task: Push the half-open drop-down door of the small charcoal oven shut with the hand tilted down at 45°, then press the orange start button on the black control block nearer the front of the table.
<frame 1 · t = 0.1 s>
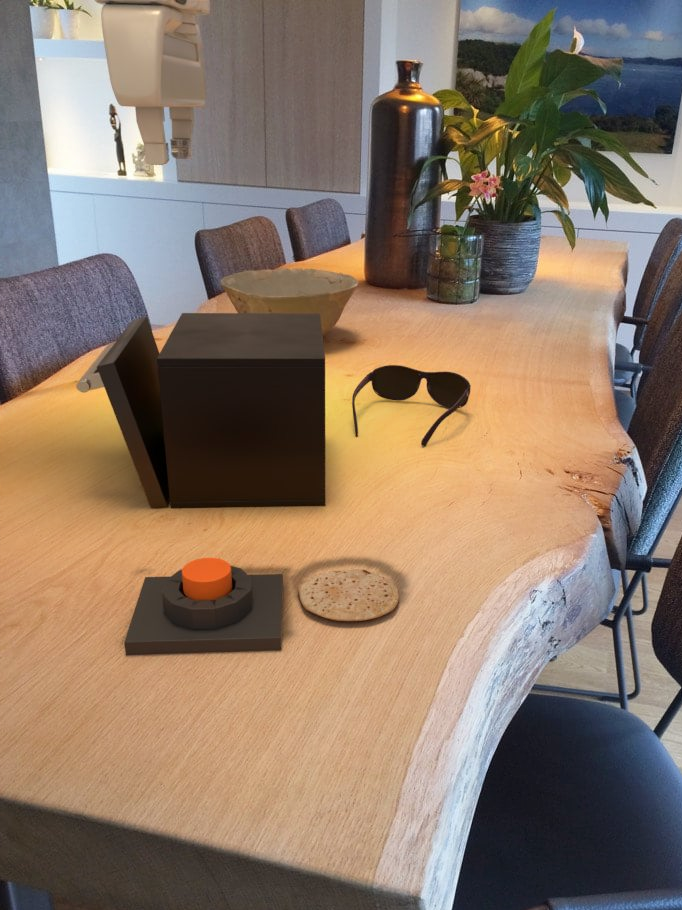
hand: (170, 161, 78), 31 cm above the table, tool pointing down, fingers open, 8 cm apart
flatbread: (347, 602, 66), on the table
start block: (210, 618, 63), on the table
sunglasses: (408, 423, 104), on the table
mini oven: (253, 471, 89), on the table
start button: (207, 579, 62), point 3 cm above the table, slide at 0.1 cm
oven door: (134, 411, 85), point 7 cm above the table, hinge at 13.8°
ceramic bowl: (291, 341, 139), on the table
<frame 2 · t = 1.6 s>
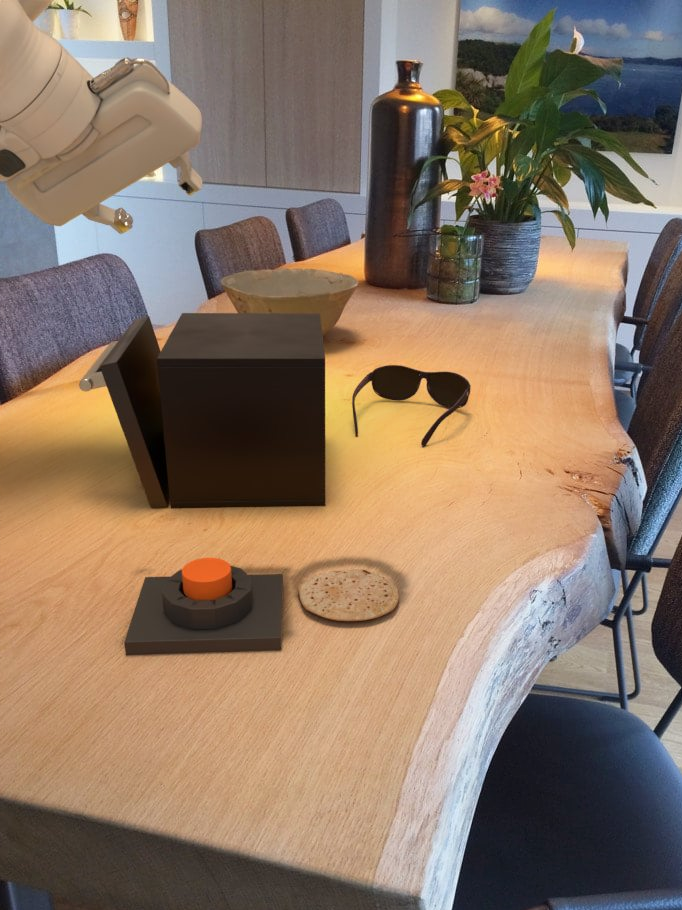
hand: (161, 208, 85), 26 cm above the table, tool tilted 50°, fingers open, 8 cm apart
oven door: (135, 410, 85), point 7 cm above the table, hinge at 12.8°
everything else where it was.
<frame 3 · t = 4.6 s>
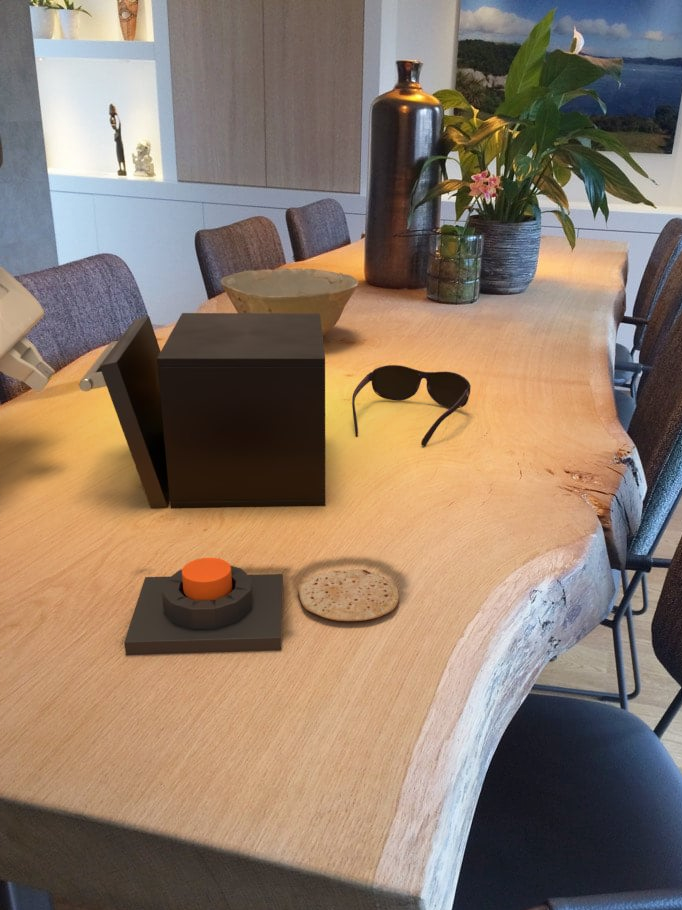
hand: (47, 382, 84), 10 cm above the table, tool tilted 45°, fingers closed
nothing on the table moved.
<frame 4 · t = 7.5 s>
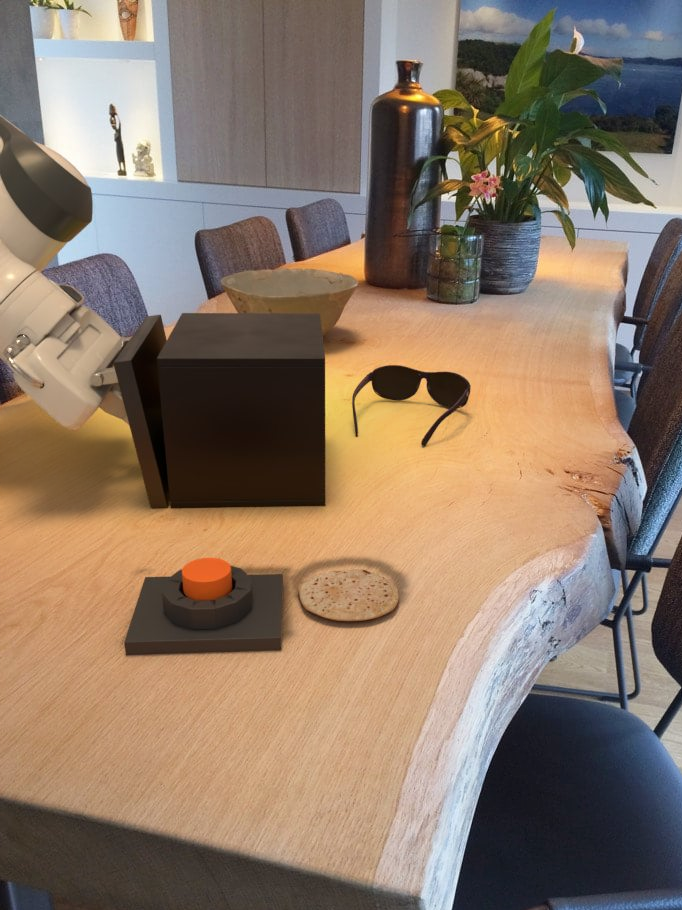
hand: (143, 420, 86), 6 cm above the table, tool tilted 45°, fingers closed, pressing on oven door
oven door: (141, 408, 85), point 7 cm above the table, hinge at 7.8°, touching gripper
everything else where it was.
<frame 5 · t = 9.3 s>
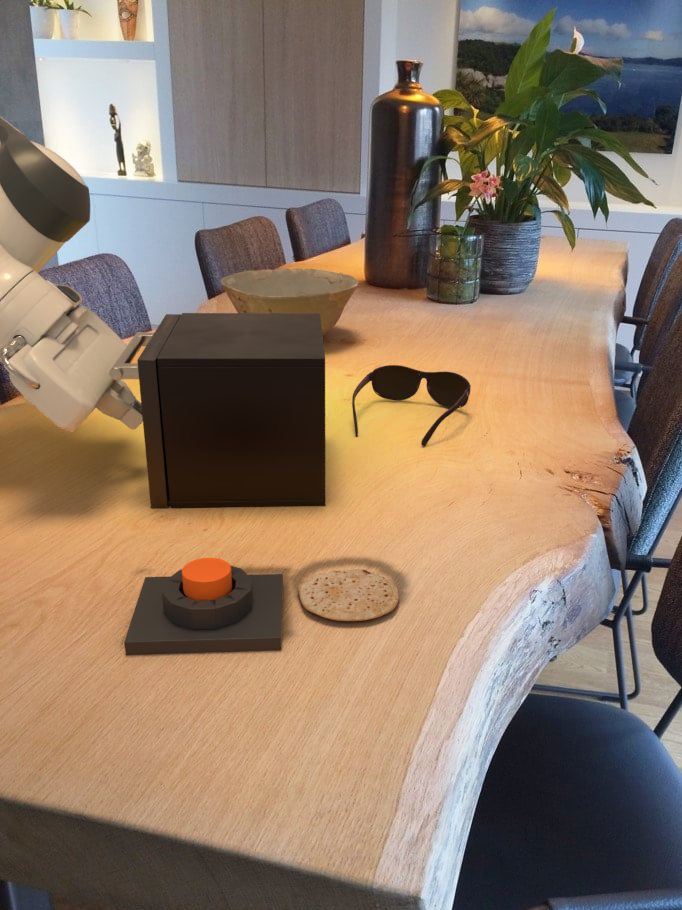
hand: (141, 420, 85), 6 cm above the table, tool tilted 45°, fingers closed
oven door: (151, 405, 85), point 8 cm above the table, hinge at -0.5°
everything else where it was.
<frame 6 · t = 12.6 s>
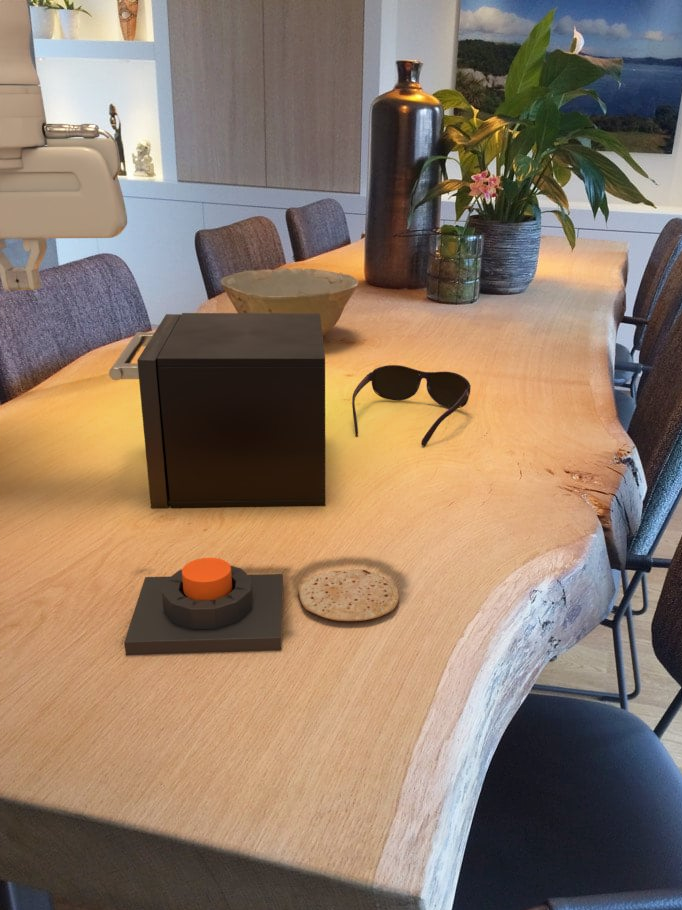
hand: (22, 288, 76), 20 cm above the table, tool pointing down, fingers closed
nothing on the table moved.
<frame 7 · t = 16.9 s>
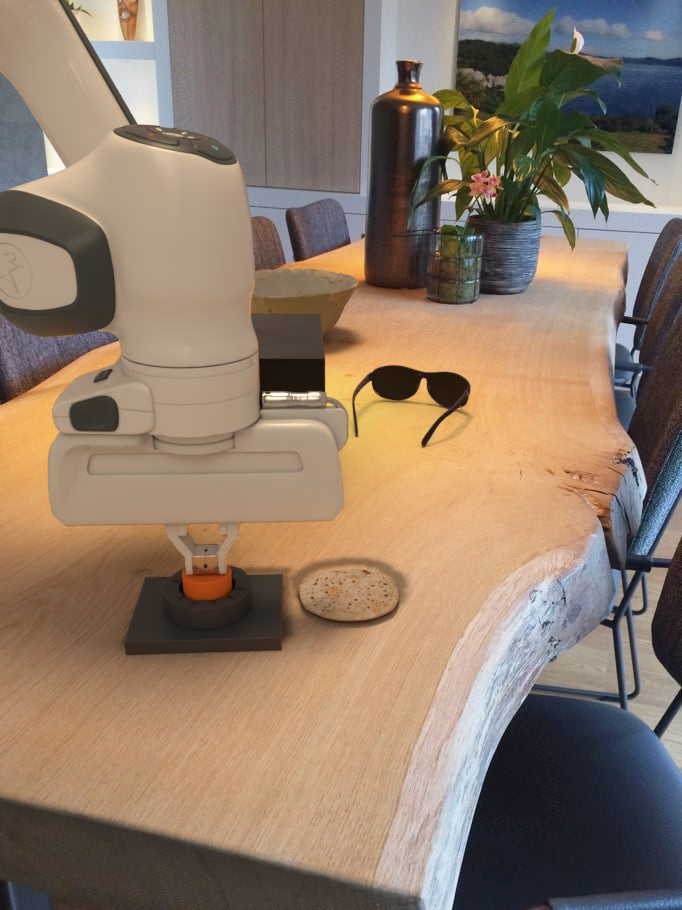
hand: (207, 571, 61), 4 cm above the table, tool pointing down, fingers closed, pressing on start button
start button: (207, 580, 62), point 3 cm above the table, slide at 0.0 cm, touching gripper
everything else where it was.
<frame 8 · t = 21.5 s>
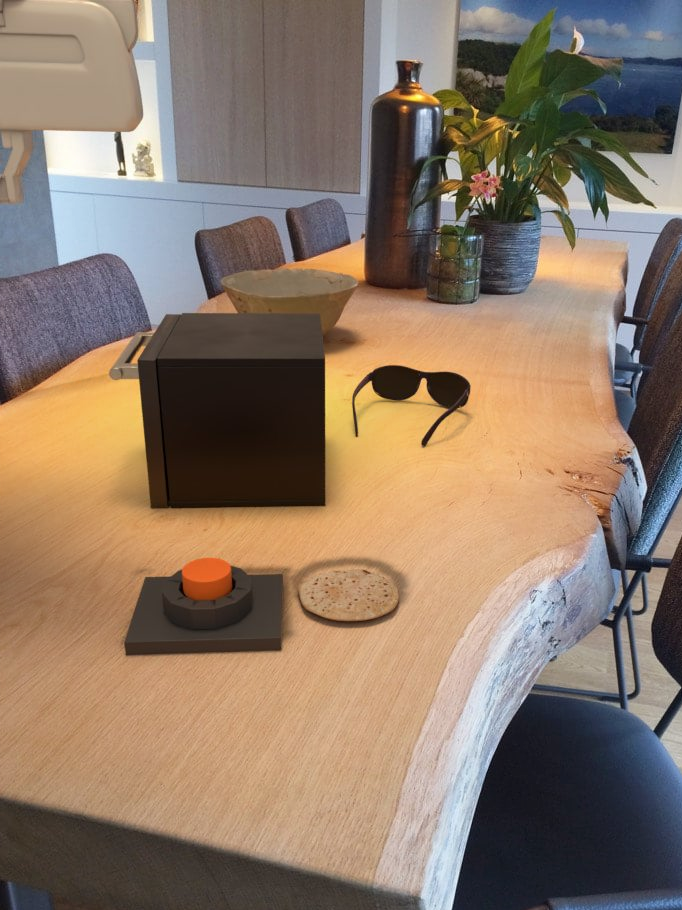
start button: (207, 579, 62), point 3 cm above the table, slide at 0.1 cm
everything else where it was.
at the end: oven door at +0° (first picture: +15°); start button pushed in 1.0 cm at the most during the clip, back to where it started at the end; start button slide at 0.1 cm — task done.
